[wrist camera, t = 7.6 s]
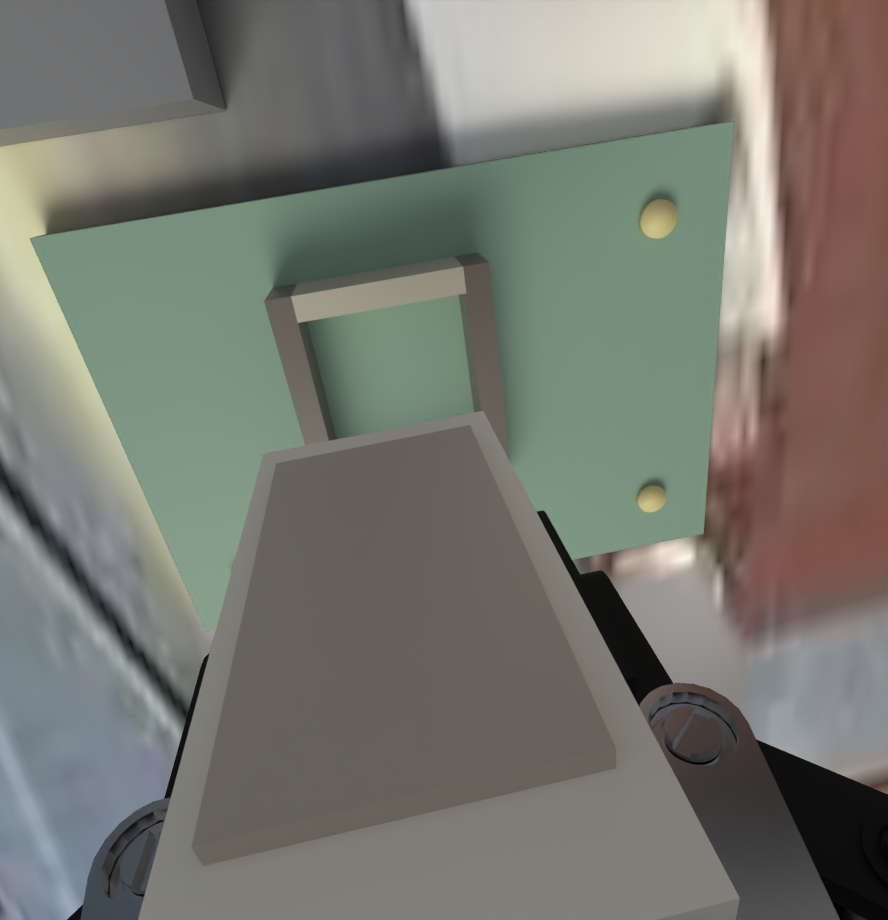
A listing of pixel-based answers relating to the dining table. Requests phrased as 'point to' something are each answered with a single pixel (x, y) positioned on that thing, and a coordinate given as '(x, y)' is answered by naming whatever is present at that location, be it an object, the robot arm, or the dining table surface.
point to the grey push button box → (101, 66)
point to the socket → (381, 291)
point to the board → (424, 334)
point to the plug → (418, 713)
